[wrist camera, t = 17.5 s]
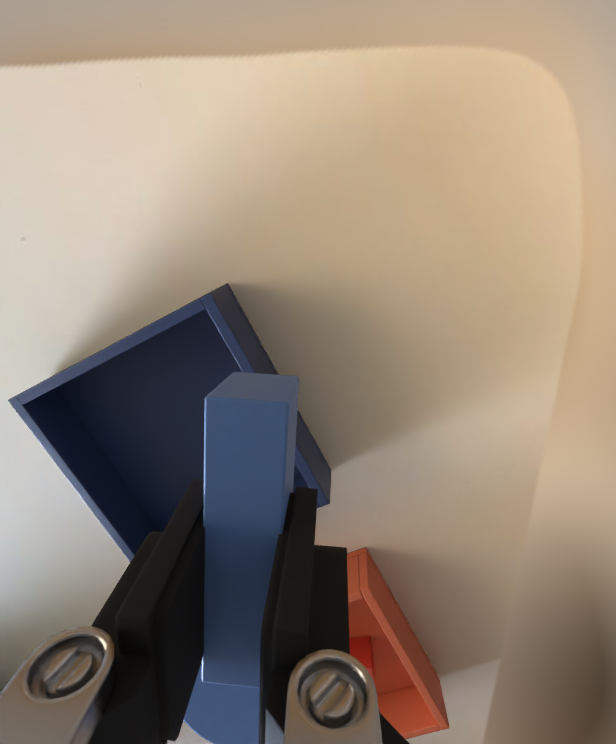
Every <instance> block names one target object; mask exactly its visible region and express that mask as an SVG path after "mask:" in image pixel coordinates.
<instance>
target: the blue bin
mask: <svg viewBox="0 0 616 744" xmlns="http://www.w3.org/2000/svg"><path fill="white" fill-rule="evenodd" d="M233 372H244V373H259V374H273V375H278V373H277V371H276V370H275V368H274V366H273V364H272V362H271V360H270V359H269V357H268V355H267V353H266V351H265V350H264V348H263V346H262V344H261V342H260V341H259V339H258V337H257V335H256V333H255V332H254V330H253V328H252V326H251V324H250V323H249V321H248V319H247V317H246V315H245V314H244V312H243V310H242V308H241V306H240V305H239V303H238V301H237V299H236V297H235V296H234V294H233V292H232V290H231V288H230V286H229V285H228V283H227V284H225V285H223V286H221V287H219V288H217V289H215V290H213V291H212V292H210V293H208V294H206V295H204V296H202V297H200V298H198V299H197V300H195V301H193V302H191V303H189V304H187V305H185V306H183V307H181V308H180V309H178V310H176V311H174V312H172V313H170V314H168V315H166V316H165V317H163V318H161V319H159V320H157V321H155V322H153V323H151V324H150V325H148V326H146V327H144V328H142V329H140V330H138V331H136V332H135V333H133V334H131V335H129V336H127V337H125V338H123V339H121V340H120V341H118V342H116V343H114V344H112V345H110V346H108V347H106V348H105V349H103V350H101V351H99V352H97V353H95V354H93V355H91V356H89V357H88V358H86V359H84V360H82V361H80V362H78V363H76V364H74V365H73V366H71V367H69V368H67V369H65V370H63V371H61V372H59V373H58V374H56V375H54V376H52V377H50V378H48V379H46V380H44V381H43V382H41V383H39V384H37V385H35V386H33V387H31V388H29V389H28V390H26V391H24V392H22V393H20V394H18V395H16V396H14V397H13V398H11V399H9V400H8V401H9V402H10V404H11V405H12V406H13V408H14V409H15V410H16V412H17V413H18V414H19V416H20V417H21V418H22V420H23V421H24V422H25V424H26V425H27V426H28V427H29V429H30V430H31V431H32V433H33V434H34V435H35V437H36V438H37V439H38V441H39V442H40V443H41V445H42V446H43V447H44V449H45V450H46V451H47V453H48V454H49V455H50V457H51V458H52V459H53V461H54V462H55V463H56V465H57V466H58V467H59V469H60V470H61V471H62V472H63V474H64V475H65V476H66V478H67V479H68V480H69V482H70V483H71V484H72V486H73V487H74V488H75V490H76V491H77V492H78V494H79V495H80V496H81V498H82V499H83V500H84V502H85V503H86V504H87V506H88V507H89V508H90V510H91V511H92V512H93V513H94V515H95V516H96V517H97V519H98V520H99V521H100V523H101V524H102V525H103V527H104V528H105V529H106V531H107V532H108V533H109V535H110V536H111V537H112V539H113V540H114V541H115V543H116V544H117V545H118V547H119V548H120V549H121V551H122V552H123V553H124V555H125V556H126V557H127V558H128V560H129V561H130V562H131V561H132V559H133V557H134V556H135V554H136V553H137V551H138V549H139V548H140V546H141V544H142V543H143V541H144V540H145V538H146V537H147V535H148V534H149V533H151V532H152V531H154V532H163V531H164V529H165V527H166V526H167V524H168V522H169V520H170V519H171V517H172V515H173V513H174V512H175V510H176V508H177V506H178V505H179V503H180V501H181V499H182V498H183V496H184V494H185V492H186V491H187V489H188V487H189V485H190V483H191V482H192V480H193V479H202V480H204V412H205V397H206V396H207V395H208V394H209V393H211V392H212V391H213V390H214V389H215V388H216V387H217V386H218V385H220V384H221V383H222V382H223V381H224V380H225V379H226V378H227V377H229V376H230V375H231V374H232V373H233ZM296 487H304V488H316V489H318V496H317V508H319V507H322V506H325V505H327V504H330V488H331V469H330V467H329V465H328V463H327V462H326V460H325V458H324V456H323V454H322V453H321V451H320V449H319V447H318V445H317V444H316V442H315V440H314V438H313V436H312V435H311V433H310V431H309V429H308V427H307V425H306V424H305V422H304V420H303V418H302V416H301V415H300V413H299V411H298V409H297V426H296V444H295V462H294V480H293V493H295V490H296Z"/></svg>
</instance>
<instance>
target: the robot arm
mask: <svg viewBox="0 0 616 744" xmlns="http://www.w3.org/2000/svg"><path fill="white" fill-rule="evenodd" d="M317 496H318V489H316V488H304V487H296V490H295V493H290V496H289V502H288V507H287V513H286V518H285V524H284V529H283V533H282V534H279V536H278V541H277V546H276V551H275V556H274V562H273V567H272V572H271V577H270V582H269V588H268V593H267V598H266V603H265V609H264V614H263V620H262V629H261V641H260V691H259V744H409V743H408V742H407V741H406V740H405V739H404V738H403V736H402V735H401V734H400V733H399V732H398V731H397V730H396V729H395V728H394V727H393V726H392V725H391V724H390V723H389V722H388V721H387V720H386V718H385V717H384V716H383V715H382V714H381V713H380V712H379V707H378V698H377V692H376V688H375V684H374V680H373V678H372V677H371V675H370V673H369V672H368V670H367V668H366V667H365V666H364V665H363V664H362V663H361V662H360V661H358V660H357V659H356V658H355V657H353V656H351V655H350V643H349V608H348V573H347V549H346V548H343V547H331V546H319V545H314V541H315V526H316V511H317ZM203 509H204V480H202V479H193V480H192V482H191V483H190V485H189V487H188V489H187V491H186V492H185V494H184V496H183V498H182V499H181V501H180V503H179V505H178V506H177V508H176V510H175V512H174V513H173V515H172V517H171V519H170V520H169V522H168V524H167V526H166V527H165V529H164V531H163V532H154V531H152V532H151V533H149V534H148V535H147V537H146V538H145V540H144V541H143V543H142V544H141V546H140V548H139V549H138V551H137V553H136V554H135V556H134V557H133V559H132V561H131V562H130V564H129V566H128V567H127V569H126V570H125V572H124V574H123V575H122V577H121V578H120V580H119V582H118V583H117V585H116V587H115V588H114V590H113V591H112V593H111V595H110V596H109V598H108V600H107V601H106V603H105V604H104V606H103V608H102V609H101V611H100V613H99V614H98V616H97V617H96V619H95V621H94V622H93V624H92V626H82V627H75V628H71V629H67V630H64V631H62V632H60V633H58V634H56V635H54V636H52V637H50V638H49V639H47V640H46V641H44V642H43V643H42V644H40V645H39V646H38V647H37V648H36V649H35V650H34V651H33V652H32V653H31V654H30V655H29V656H28V657H27V658H26V659H25V661H24V662H23V663H22V665H21V666H20V667H19V669H18V670H17V671H16V673H15V674H14V675H13V677H12V678H11V679H10V681H9V682H8V683H7V685H6V686H5V687H4V689H3V690H2V691H1V693H0V744H166V743H167V740H172V741H175V740H176V739H177V737H178V735H179V732H180V729H181V726H182V723H183V720H184V716H185V713H186V710H187V707H188V704H189V700H190V697H191V694H192V691H193V688H194V684H195V681H196V678H197V675H198V671H199V668H200V665H201V662H202V659H203V655H204V579H205V527H204V526H203Z"/></svg>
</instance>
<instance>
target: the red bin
mask: <svg viewBox="0 0 616 744" xmlns="http://www.w3.org/2000/svg"><path fill="white" fill-rule="evenodd" d="M347 573H348V608H349V638H355V637H366V636H370V639H371V644H372V648H373V653H374V667H375V681H376V683H375V688H376V692H377V698H378V707H379V712H380V713H381V714H382V715H383V716H384V717H385V718H386V720H387V721H388V722H389V723H390V724H391V725H392V726H393V727H394V728H395V729H396V730H397V731H398V732H399V733H400V734H401V735H402V736H403V738H404V739H408V738H412V737H416V736H420V735H424V734H428V733H432V732H436V731H440V730H444V729H448V728H449V723H448V718H447V713H446V709H445V704H444V699H443V694H442V690H441V685H440V680H439V677H438V675H437V673H436V672H435V670H434V668H433V666H432V665H431V663H430V661H429V659H428V657H427V656H426V654H425V652H424V650H423V648H422V647H421V645H420V643H419V641H418V640H417V638H416V636H415V634H414V632H413V631H412V629H411V627H410V625H409V623H408V622H407V620H406V618H405V616H404V615H403V613H402V611H401V609H400V607H399V606H398V604H397V602H396V600H395V599H394V597H393V595H392V593H391V591H390V590H389V588H388V586H387V584H386V582H385V581H384V579H383V577H382V575H381V574H380V572H379V570H378V568H377V566H376V565H375V563H374V561H373V559H372V557H371V556H370V554H369V552H368V550H367V549H366V548H363V549H360V550H357V551H354V552H351V553H348V554H347Z"/></svg>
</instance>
